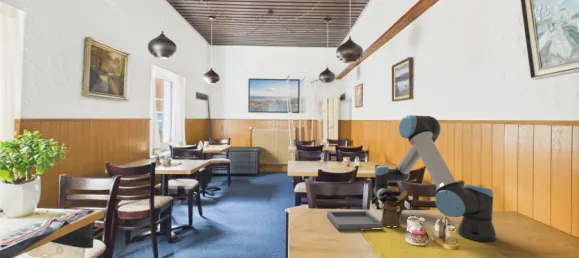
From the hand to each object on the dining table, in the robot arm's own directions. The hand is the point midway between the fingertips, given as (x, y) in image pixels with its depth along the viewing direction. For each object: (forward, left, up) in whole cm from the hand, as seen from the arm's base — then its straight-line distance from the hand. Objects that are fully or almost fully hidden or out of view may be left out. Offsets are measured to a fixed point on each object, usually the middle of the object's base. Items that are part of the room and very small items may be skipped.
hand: (395, 206), depth 162 cm
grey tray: (+5, +20, -10) cm, 23 cm away
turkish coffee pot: (+1, 0, -10) cm, 10 cm away
